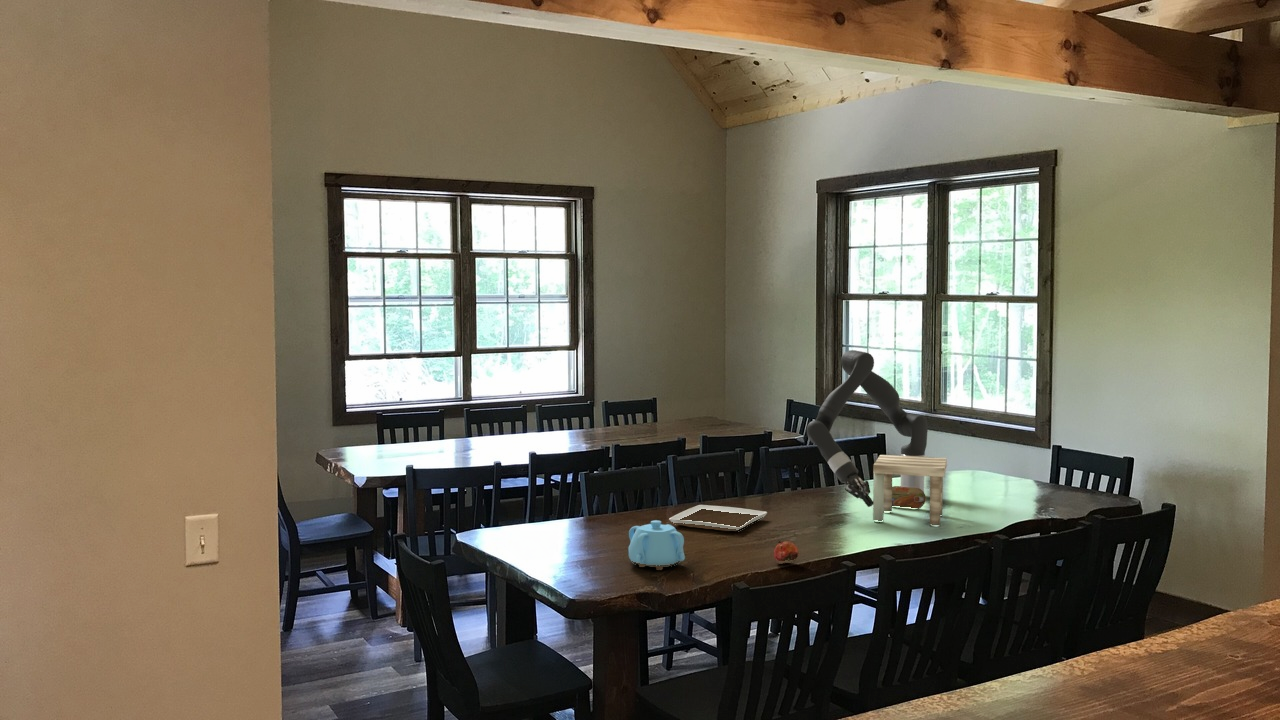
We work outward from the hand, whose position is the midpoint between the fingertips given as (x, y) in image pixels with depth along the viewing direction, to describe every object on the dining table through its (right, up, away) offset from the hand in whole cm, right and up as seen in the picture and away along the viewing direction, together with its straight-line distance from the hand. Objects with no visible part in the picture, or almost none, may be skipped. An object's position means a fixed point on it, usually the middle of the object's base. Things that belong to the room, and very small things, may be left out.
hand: (871, 505), depth 368 cm
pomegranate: (-39, -10, -58) cm, 70 cm away
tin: (+18, -5, +23) cm, 30 cm away
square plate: (-55, -7, -2) cm, 55 cm away
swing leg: (+4, -5, +4) cm, 8 cm away
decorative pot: (-78, -10, -58) cm, 98 cm away
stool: (+15, -6, +4) cm, 17 cm away
